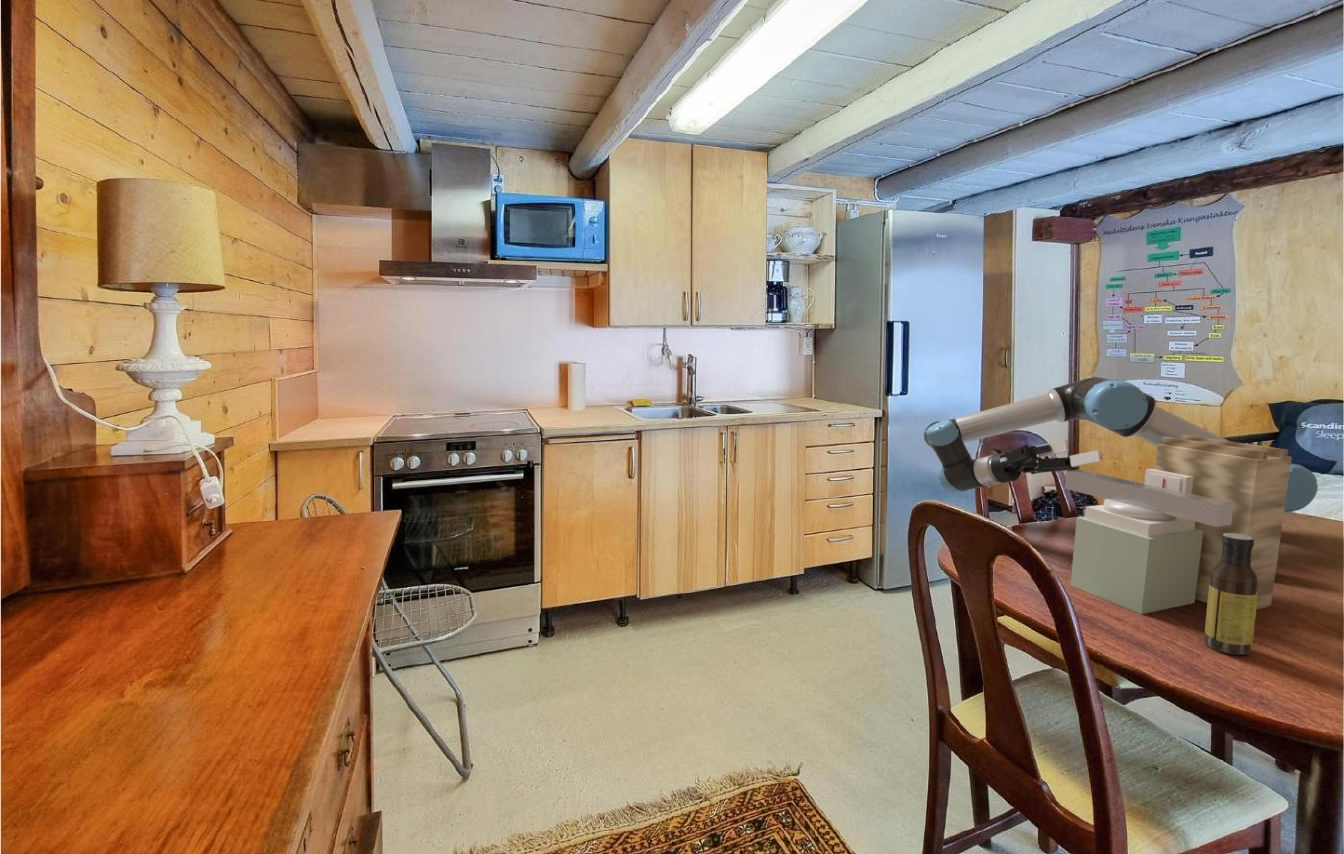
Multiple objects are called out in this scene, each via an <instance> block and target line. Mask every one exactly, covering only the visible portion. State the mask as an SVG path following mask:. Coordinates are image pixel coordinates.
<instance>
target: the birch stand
mask: <svg viewBox="0 0 1344 854" xmlns="http://www.w3.org/2000/svg"><path fill="white" fill-rule="evenodd" d="M1155 453H1156V454H1155V462H1154V469H1156V470H1162V471H1167V472H1172V473H1177V474H1182V475H1187V476H1192V477H1193V485H1192V493H1191V494H1194V495H1199V496H1203V497H1208V498H1212V499H1217V500H1222V501H1226V502H1231V503H1234V506H1233V514H1232V522H1231V525H1225V526H1219V527H1215V526H1211V525H1207V524H1203V523H1199V522H1195V529H1199V530H1203V538H1202V546H1201V554H1200V562H1199V571H1198V579H1197V587H1196V595H1195V600H1198V601H1200V602H1203V603H1206V604H1207V603H1208V593H1209V584H1210V580H1211V571H1212V569H1213V568H1214V567H1215V566H1216V565H1217V564H1218V563H1219V562H1220V561H1221V555H1222V548H1223V543H1222V535H1223V534H1224V533H1236V534H1243V535H1247V536H1250V537H1252V538H1254V546H1253V548H1252V551H1251V565H1250V566H1251V568H1252V569H1253V571H1254V572H1255V574H1256V576H1257V578H1258V595H1257V606H1256V611H1257V610H1260V609H1264V608H1269V606H1270V607H1271V605H1272V599H1273V593H1274V592H1273V591H1274V586H1275V578H1276V576H1275V573H1276V574H1277V569H1276V565H1277V566H1278V562H1277V558H1278V559H1279V555H1278V551H1279V552H1280V548H1279V544H1280V545H1281V537H1282V530H1283V522H1284V517H1285V516H1284V515H1285V512H1284V509H1285V502H1286V495H1287V488H1288V481H1289V474H1290V467H1291V463H1292V459H1293V457H1292V456H1289V449H1287V448H1285V449H1284V448H1280V447H1278V448H1277V447H1270V446H1264V445H1256V444H1251V443H1250V444H1249V443H1243V442H1235V441H1230V440H1228V441H1223V440H1216V439H1209V438H1202V437H1195V436H1188V435H1183V436H1182V439H1177V438H1171V437H1163V439H1162V444H1159V445H1157V446H1156V451H1155Z"/></svg>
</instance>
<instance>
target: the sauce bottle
mask: <svg viewBox="0 0 1344 854" xmlns="http://www.w3.org/2000/svg"><path fill="white" fill-rule="evenodd" d="M1222 543H1223V548H1222V555H1221V561H1220V562H1219V563H1218V564H1217V565H1216V566H1215V567H1214V568H1213V569H1212V571H1211V580H1210V584H1209V593H1208V603H1206V604H1207V606H1206V615H1205V616H1206V617H1205V625H1204V626H1205V627H1204V633H1205V636H1204V643H1205V645H1207V646H1208V647H1209V648H1210V649H1212V650H1214V651H1217V652H1219V653H1223V654H1228V655H1237V656H1239V655H1240V656H1241V655H1247V654H1250V653H1251V649H1252V644H1253V641H1254V632H1255V626H1256V625H1255V624H1256V615H1257V610H1256V606H1257V595H1258V578H1257V576H1256V574H1255V572H1254V571H1253V569H1252V568H1251V566H1250V565H1251V551H1252V548H1253V546H1254V538H1252V537H1250V536H1247V535H1243V534H1236V533H1224V534H1223V535H1222Z"/></svg>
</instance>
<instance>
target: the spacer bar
mask: <svg viewBox="0 0 1344 854" xmlns="http://www.w3.org/2000/svg"><path fill="white" fill-rule="evenodd" d="M1065 471H1066V473H1065V486H1064V489H1065V490H1068V491H1073V492H1076V493H1080V494H1083V495H1084V494H1085V495H1089V496H1093V497H1096V498H1100V499H1104V500H1105V499H1108V500H1112V501H1116V502H1120V503H1124V504H1128V505H1132V506H1136V507H1140V508H1144V509H1148V510H1152V511H1156V512H1160V513H1164V514H1168V515H1172V516H1176V517H1180V518H1183V519H1187V520H1191V521H1195V522H1199V523H1203V524H1207V525H1211V526H1215V527H1219V526H1225V525H1231V522H1232V514H1233V506H1234V503H1231V502H1226V501H1222V500H1217V499H1212V498H1208V497H1203V496H1199V495H1194V494H1189V493H1185V492H1180V491H1175V490H1171V489H1166V488H1162V487H1157V486H1152V485H1148V484H1144V482H1138V481H1133V480H1128V479H1125V478H1119V477H1114V476H1111V475H1105V474H1102V473H1101V474H1100V473H1096V472H1092V471H1087V470H1083V469H1082V470H1081V469H1075V470H1065Z"/></svg>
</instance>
